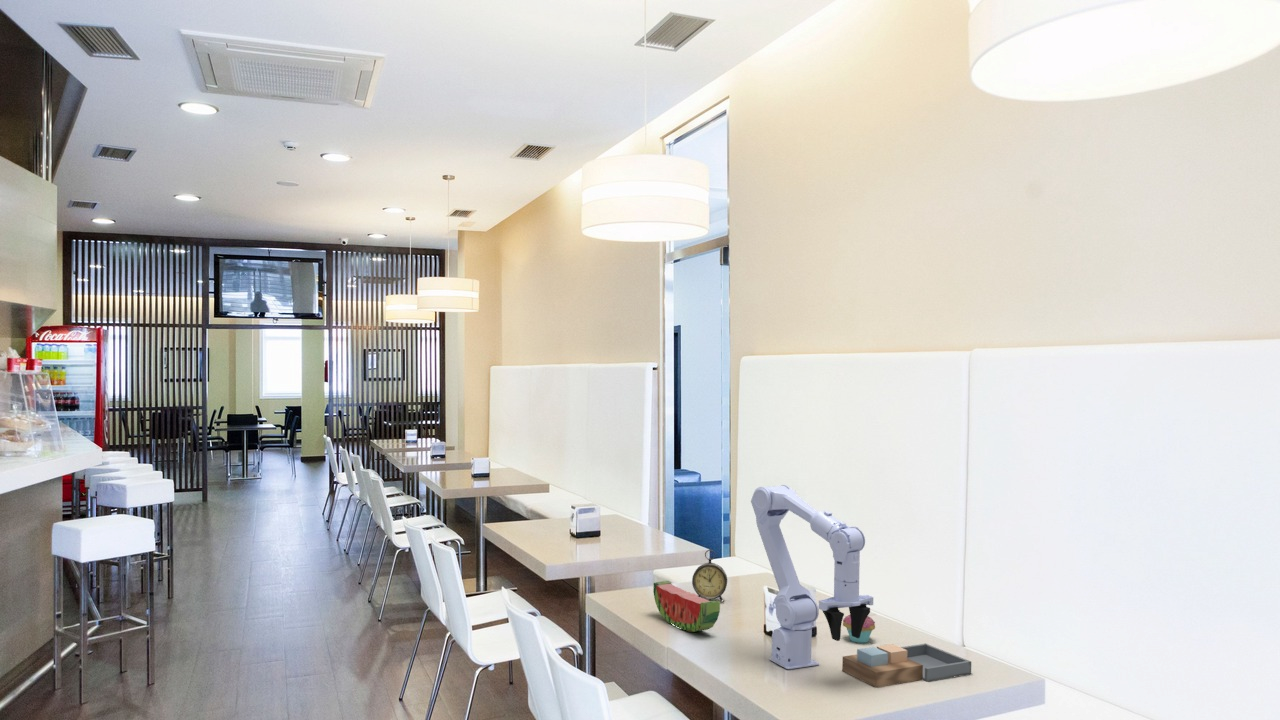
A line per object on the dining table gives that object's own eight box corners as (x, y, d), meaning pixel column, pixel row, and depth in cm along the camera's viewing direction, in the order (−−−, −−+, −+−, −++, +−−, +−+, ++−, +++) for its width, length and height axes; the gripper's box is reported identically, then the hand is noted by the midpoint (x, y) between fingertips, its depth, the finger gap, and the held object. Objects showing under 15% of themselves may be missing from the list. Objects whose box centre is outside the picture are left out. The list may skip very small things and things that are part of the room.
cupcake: (876, 646, 220) (876, 600, 220) (843, 643, 221) (843, 598, 222) (873, 636, 228) (874, 593, 228) (842, 634, 230) (842, 590, 230)
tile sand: (891, 663, 196) (891, 652, 196) (876, 657, 200) (876, 646, 200) (907, 661, 198) (907, 650, 198) (892, 654, 202) (892, 644, 202)
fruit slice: (651, 616, 243) (652, 582, 244) (669, 614, 247) (670, 580, 247) (702, 641, 221) (703, 603, 221) (721, 638, 224) (722, 601, 224)
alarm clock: (691, 602, 261) (692, 550, 261) (693, 597, 266) (694, 547, 267) (726, 604, 259) (727, 552, 259) (727, 599, 264) (728, 549, 265)
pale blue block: (871, 666, 193) (871, 655, 193) (857, 660, 198) (857, 649, 198) (887, 664, 195) (887, 653, 195) (873, 657, 200) (873, 646, 200)
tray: (927, 681, 194) (927, 668, 194) (883, 661, 207) (883, 649, 207) (971, 674, 200) (971, 661, 200) (925, 655, 213) (925, 643, 213)
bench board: (876, 687, 189) (876, 672, 189) (842, 670, 200) (842, 656, 200) (922, 679, 195) (922, 665, 195) (887, 663, 206) (887, 649, 206)
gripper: (832, 586, 187) (831, 646, 187) (882, 581, 193) (881, 639, 193) (813, 579, 193) (812, 637, 193) (862, 574, 199) (861, 631, 199)
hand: (845, 638), depth 193 cm, fingers open, 5 cm apart
